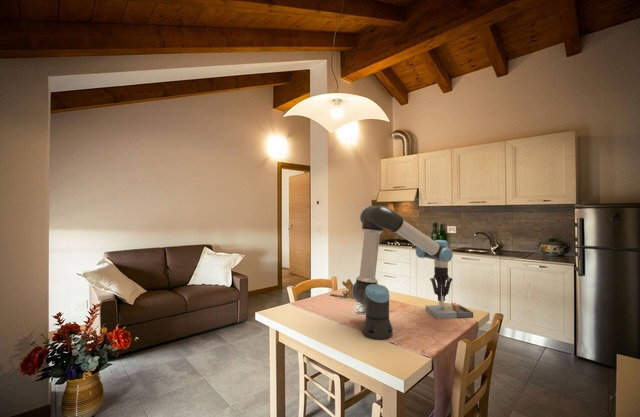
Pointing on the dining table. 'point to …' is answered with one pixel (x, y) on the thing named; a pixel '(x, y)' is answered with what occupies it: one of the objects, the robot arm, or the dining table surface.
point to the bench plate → (440, 312)
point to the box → (464, 313)
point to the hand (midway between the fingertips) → (441, 306)
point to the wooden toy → (346, 292)
